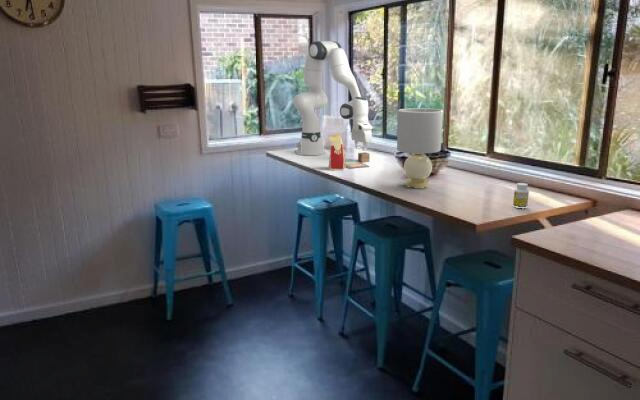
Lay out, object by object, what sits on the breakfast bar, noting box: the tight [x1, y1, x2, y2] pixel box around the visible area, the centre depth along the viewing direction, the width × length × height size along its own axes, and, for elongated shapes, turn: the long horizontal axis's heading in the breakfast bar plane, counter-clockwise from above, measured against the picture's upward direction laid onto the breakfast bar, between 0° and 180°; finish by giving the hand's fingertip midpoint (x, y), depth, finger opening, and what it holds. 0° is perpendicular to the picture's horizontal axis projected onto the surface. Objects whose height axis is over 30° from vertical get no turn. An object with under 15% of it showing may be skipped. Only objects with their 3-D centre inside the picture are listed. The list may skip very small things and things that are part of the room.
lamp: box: [396, 107, 444, 189], centre depth 234 cm, size 20×20×35 cm
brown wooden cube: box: [357, 151, 370, 164], centre depth 298 cm, size 5×5×5 cm
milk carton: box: [328, 132, 346, 172], centre depth 277 cm, size 9×9×20 cm
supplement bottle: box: [512, 182, 530, 207], centre depth 201 cm, size 5×5×10 cm
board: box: [345, 160, 370, 170], centre depth 288 cm, size 16×12×1 cm
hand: (361, 149), depth 296 cm, fingers open, 8 cm apart
